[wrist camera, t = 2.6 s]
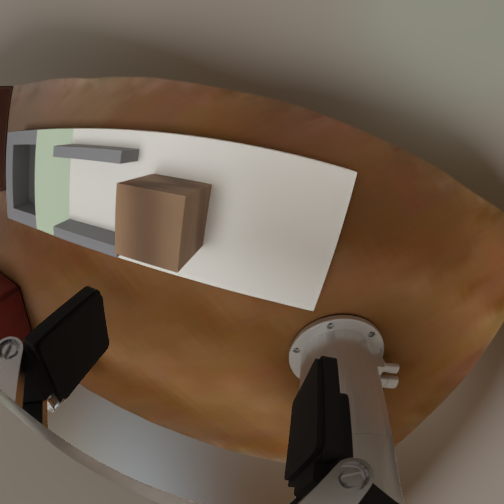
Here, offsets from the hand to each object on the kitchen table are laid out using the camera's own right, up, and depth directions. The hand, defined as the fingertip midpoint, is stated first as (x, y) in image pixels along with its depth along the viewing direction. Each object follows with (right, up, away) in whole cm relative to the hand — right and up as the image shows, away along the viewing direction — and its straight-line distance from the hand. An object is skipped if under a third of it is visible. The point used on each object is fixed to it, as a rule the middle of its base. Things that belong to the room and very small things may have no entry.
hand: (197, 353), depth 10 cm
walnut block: (-5, +8, +15) cm, 18 cm away
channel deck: (-13, +11, +20) cm, 26 cm away
